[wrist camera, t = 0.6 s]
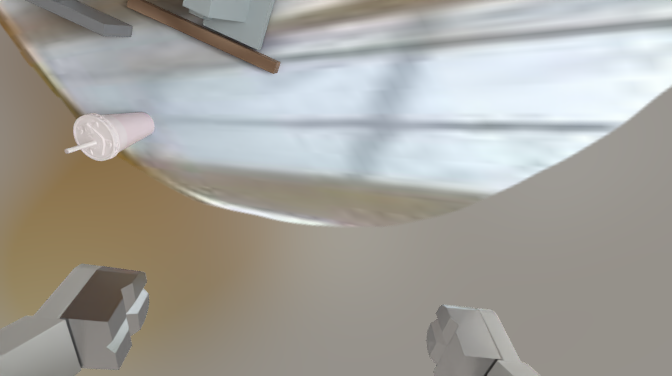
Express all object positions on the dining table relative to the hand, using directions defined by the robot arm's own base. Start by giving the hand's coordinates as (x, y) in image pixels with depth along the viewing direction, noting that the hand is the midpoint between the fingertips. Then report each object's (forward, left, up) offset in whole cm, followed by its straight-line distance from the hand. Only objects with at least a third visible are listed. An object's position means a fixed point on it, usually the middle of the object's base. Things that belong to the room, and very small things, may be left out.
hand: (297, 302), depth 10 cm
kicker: (-3, -22, -41) cm, 46 cm away
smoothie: (+19, -33, -41) cm, 56 cm away
